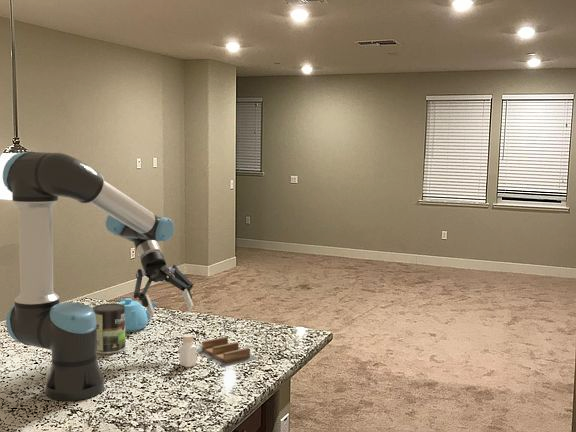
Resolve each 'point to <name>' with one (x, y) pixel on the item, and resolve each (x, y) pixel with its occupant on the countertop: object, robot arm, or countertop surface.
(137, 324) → the teapot
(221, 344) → the rack
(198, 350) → the mat
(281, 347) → the countertop surface
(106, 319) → the coffee can
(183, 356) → the salt shaker
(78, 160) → the robot arm
